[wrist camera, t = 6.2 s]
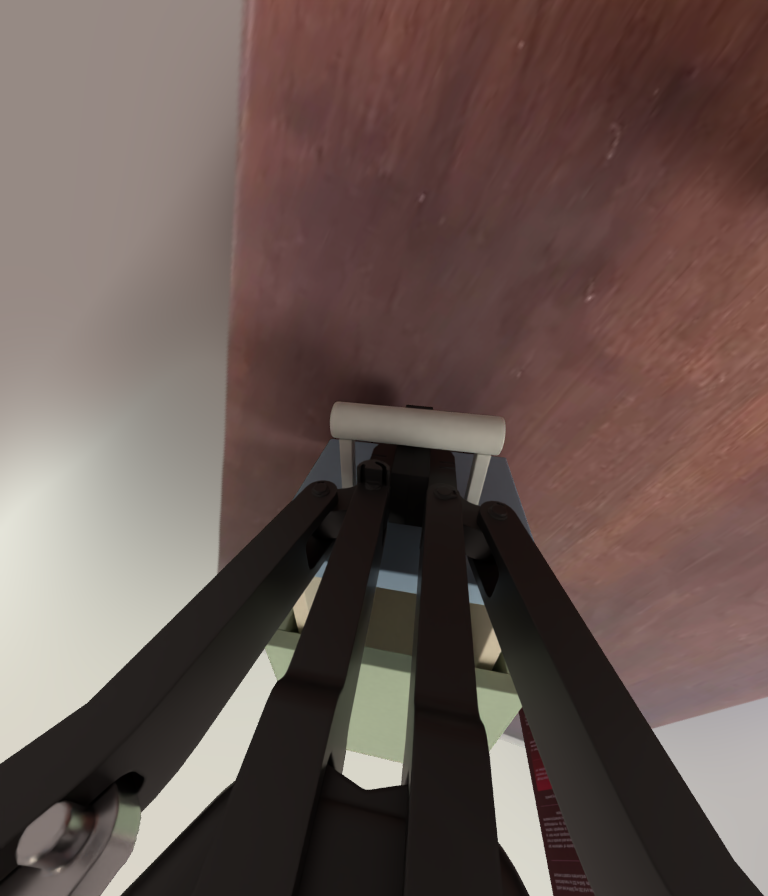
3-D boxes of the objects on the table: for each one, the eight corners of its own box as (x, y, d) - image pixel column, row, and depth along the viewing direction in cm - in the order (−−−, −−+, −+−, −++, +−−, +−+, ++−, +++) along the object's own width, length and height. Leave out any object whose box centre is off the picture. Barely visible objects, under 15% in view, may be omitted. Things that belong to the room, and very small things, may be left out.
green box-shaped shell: (331, 496, 24) (262, 644, 15) (492, 517, 22) (529, 697, 13) (340, 599, 32) (299, 738, 22) (460, 620, 30) (469, 779, 21)
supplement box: (544, 697, 36) (605, 953, 23) (511, 682, 35) (555, 937, 22) (605, 676, 31) (728, 981, 18) (570, 659, 31) (670, 962, 17)
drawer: (324, 364, 17) (228, 447, 9) (529, 380, 16) (616, 492, 8) (340, 565, 27) (300, 687, 19) (467, 585, 26) (479, 726, 18)
